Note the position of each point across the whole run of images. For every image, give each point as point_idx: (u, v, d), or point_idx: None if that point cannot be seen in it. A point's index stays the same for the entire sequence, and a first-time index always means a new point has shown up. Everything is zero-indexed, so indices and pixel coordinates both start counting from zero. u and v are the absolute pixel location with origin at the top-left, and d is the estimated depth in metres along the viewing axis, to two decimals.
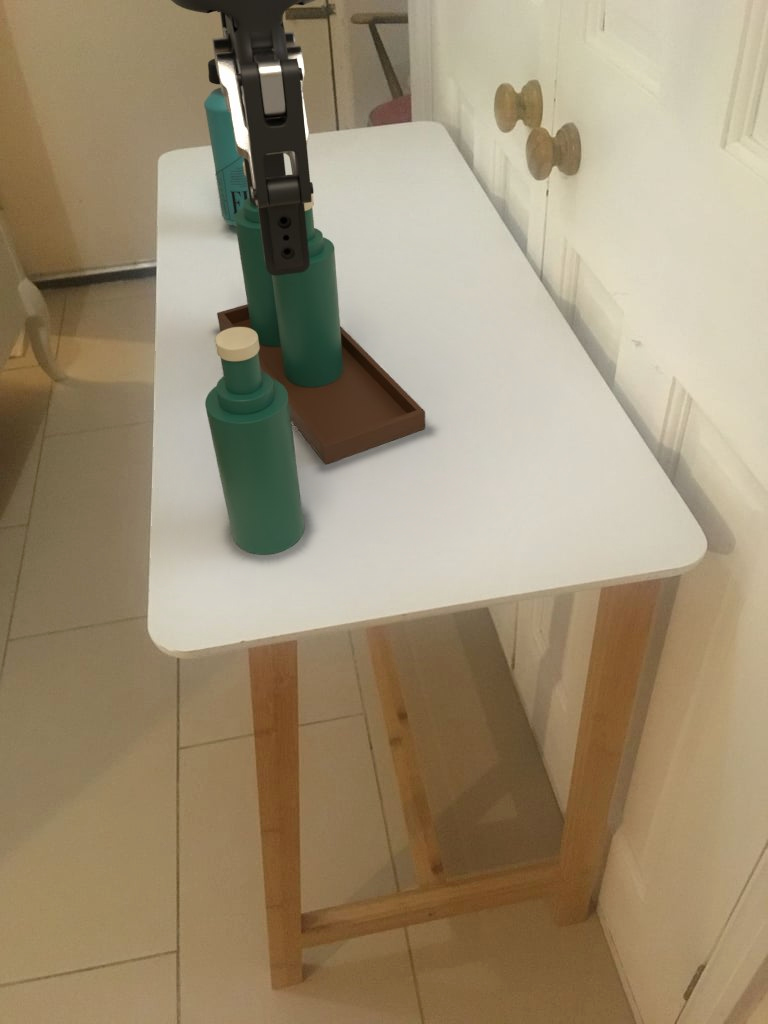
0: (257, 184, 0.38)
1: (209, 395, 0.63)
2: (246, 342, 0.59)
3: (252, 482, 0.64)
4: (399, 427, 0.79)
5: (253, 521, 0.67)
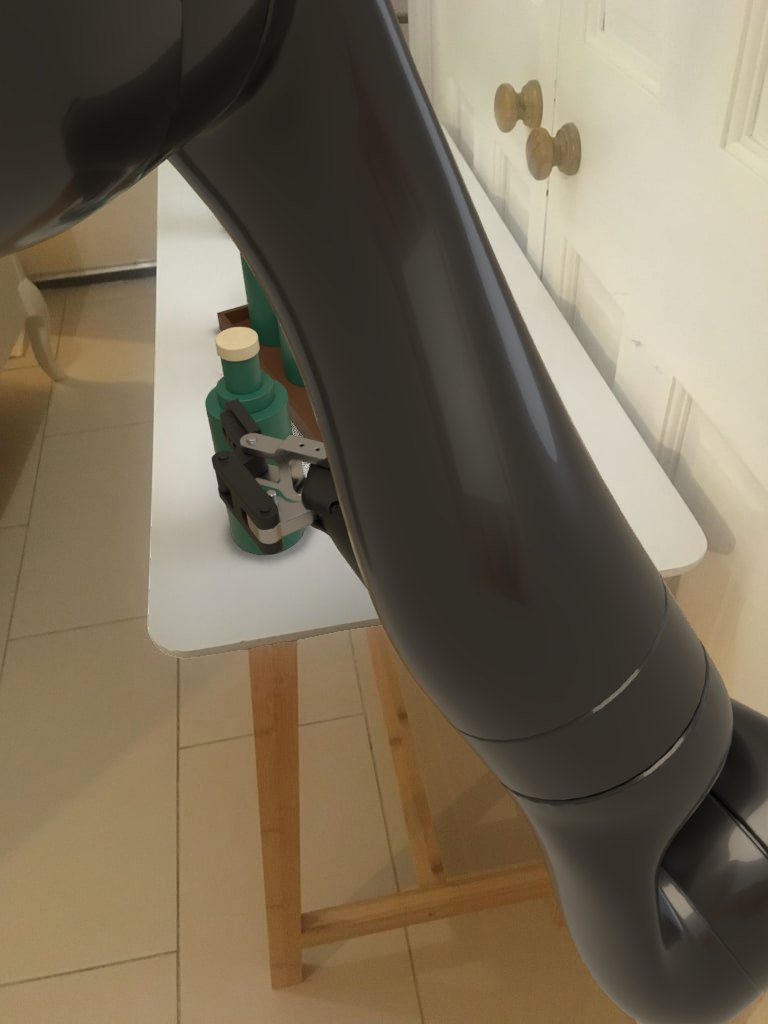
0: (217, 469, 0.44)
1: (209, 395, 0.63)
2: (246, 342, 0.59)
3: None
4: None
5: None
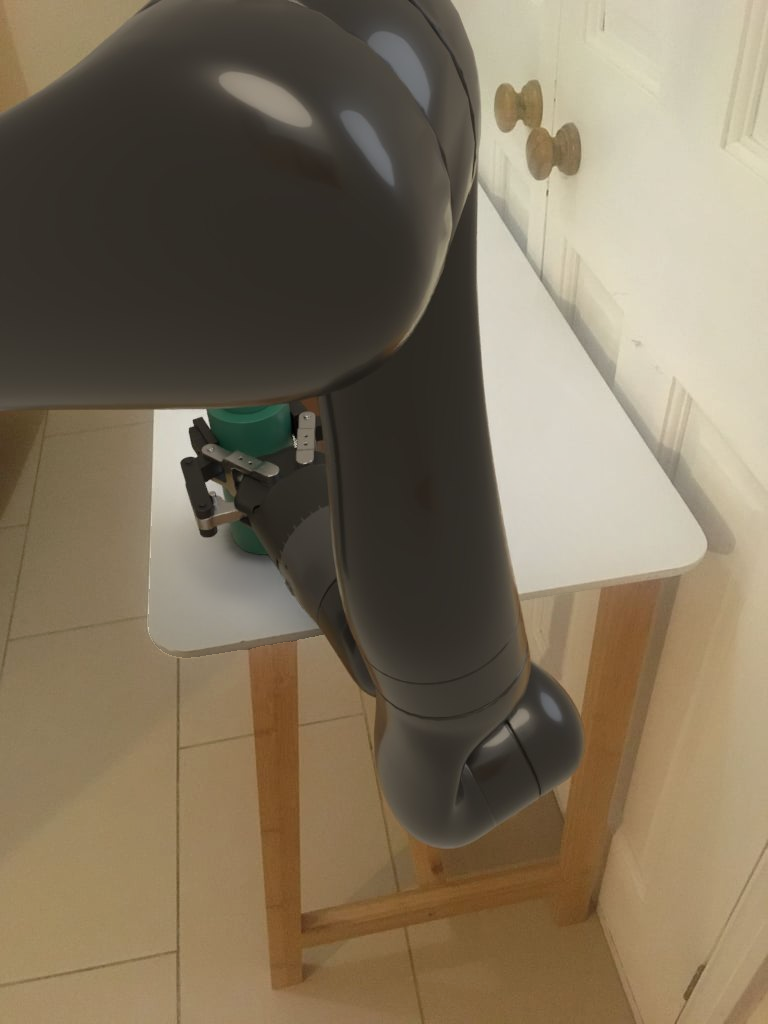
0: (182, 470, 0.60)
1: None
2: None
3: None
4: None
5: None
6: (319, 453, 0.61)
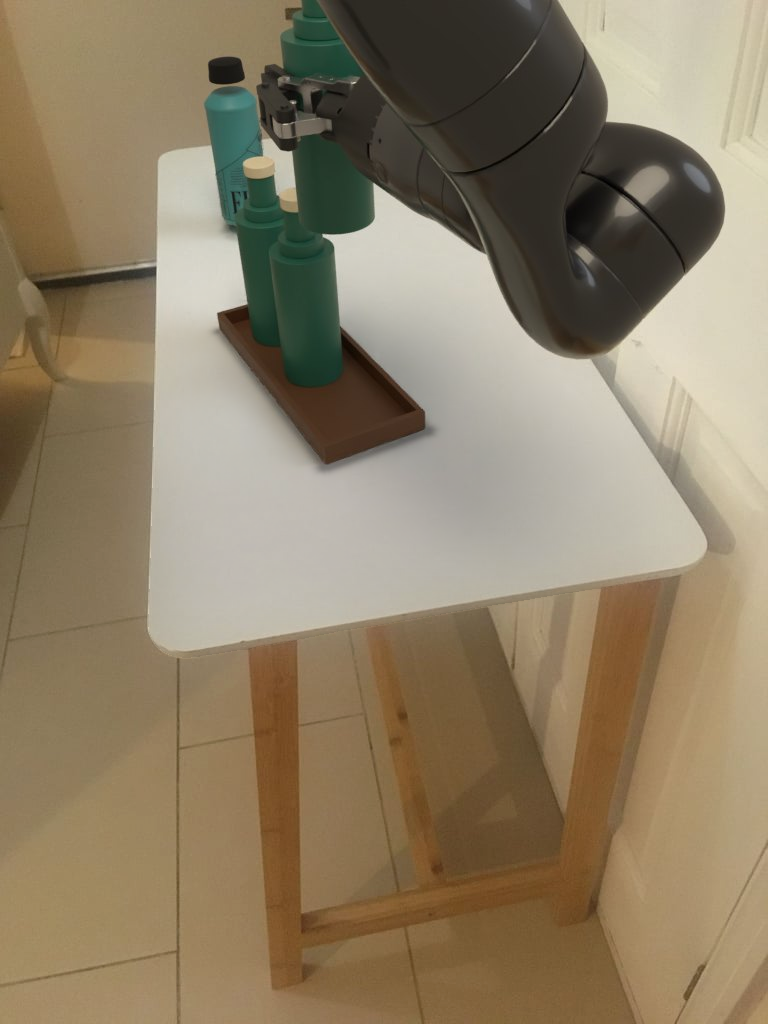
0: (258, 91, 0.56)
1: (283, 32, 0.59)
2: None
3: None
4: (399, 427, 0.79)
5: (326, 186, 0.63)
6: None
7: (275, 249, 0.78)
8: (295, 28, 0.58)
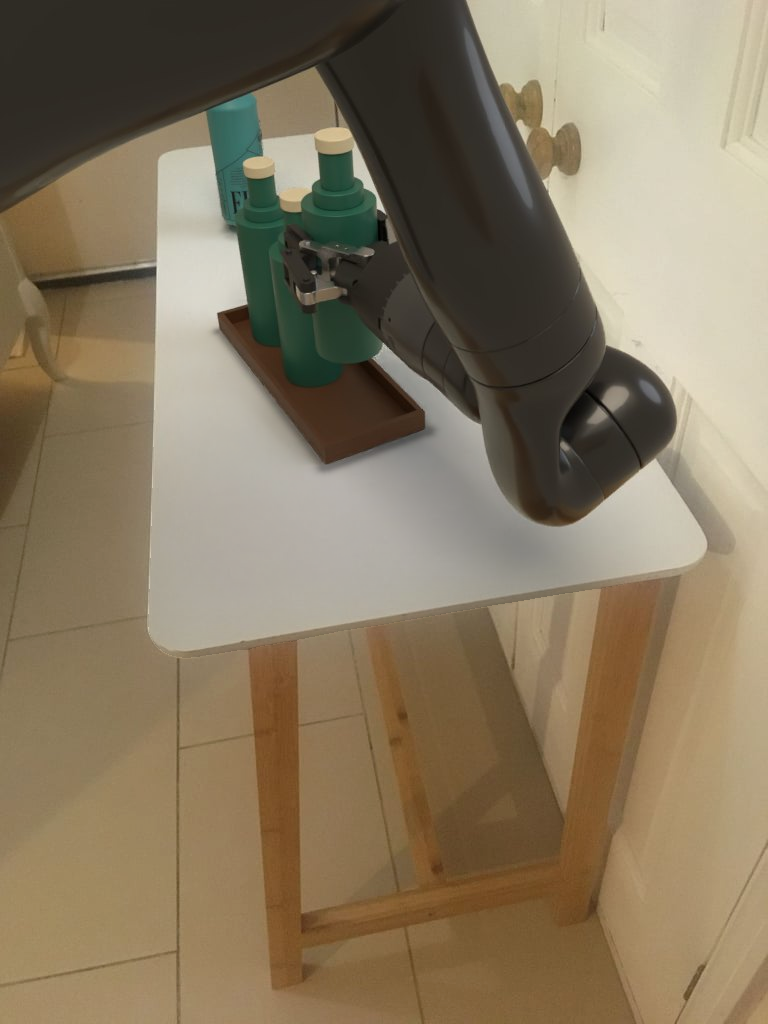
0: (283, 257, 0.65)
1: (303, 199, 0.68)
2: (343, 136, 0.64)
3: None
4: (399, 427, 0.79)
5: (340, 325, 0.72)
6: None
7: (275, 249, 0.78)
8: (314, 198, 0.67)
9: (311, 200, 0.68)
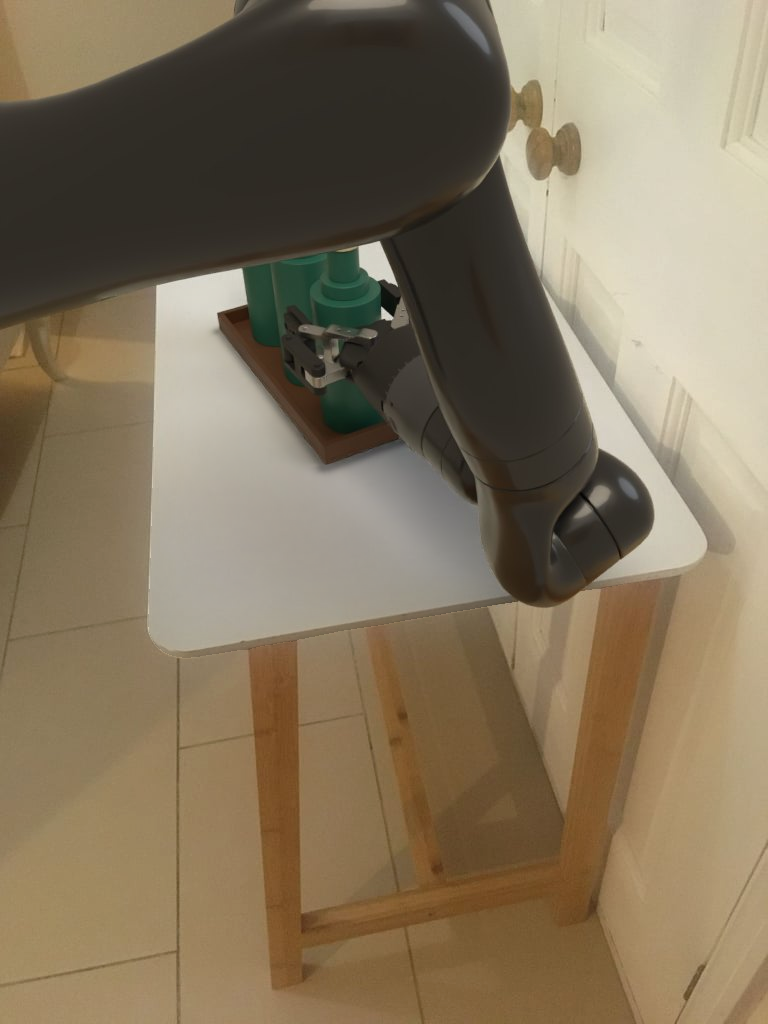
0: (285, 344, 0.69)
1: (312, 287, 0.73)
2: None
3: None
4: None
5: (346, 401, 0.77)
6: (408, 324, 0.70)
7: None
8: (322, 288, 0.72)
9: (319, 288, 0.73)
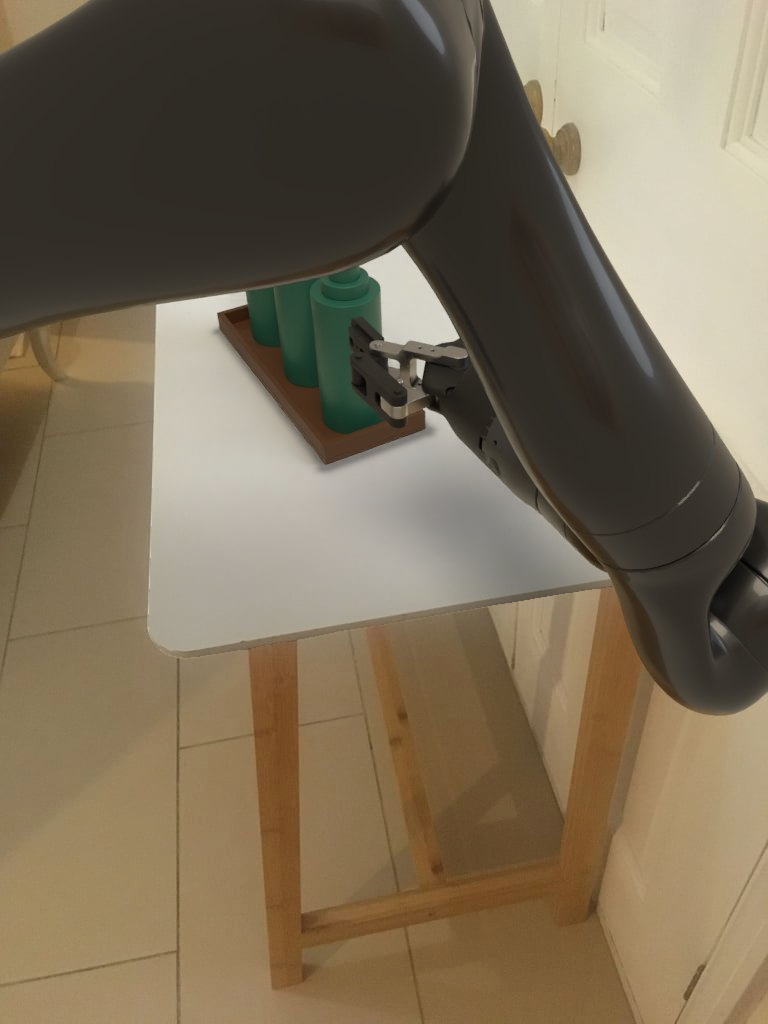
0: (355, 364, 0.57)
1: (312, 287, 0.73)
2: None
3: (348, 363, 0.74)
4: None
5: (346, 401, 0.77)
6: None
7: None
8: (322, 288, 0.72)
9: (319, 288, 0.73)
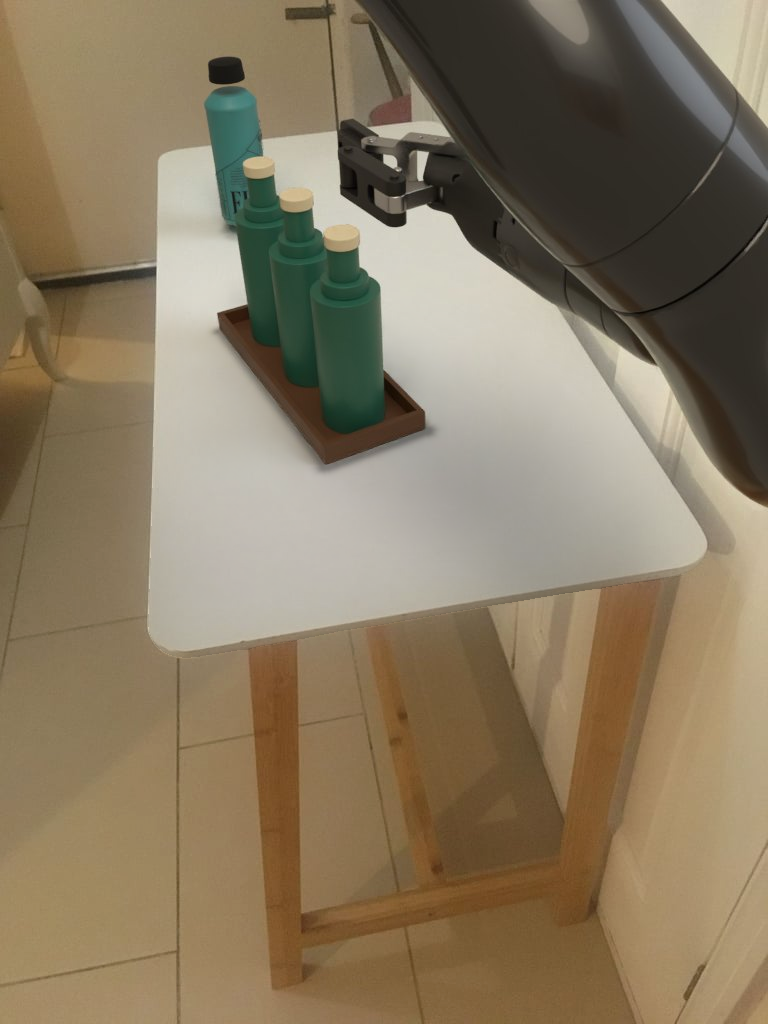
0: (344, 157, 0.47)
1: (312, 287, 0.73)
2: (350, 235, 0.69)
3: (348, 363, 0.74)
4: (399, 427, 0.79)
5: (346, 401, 0.77)
6: None
7: (275, 249, 0.78)
8: (322, 288, 0.72)
9: (319, 288, 0.73)
